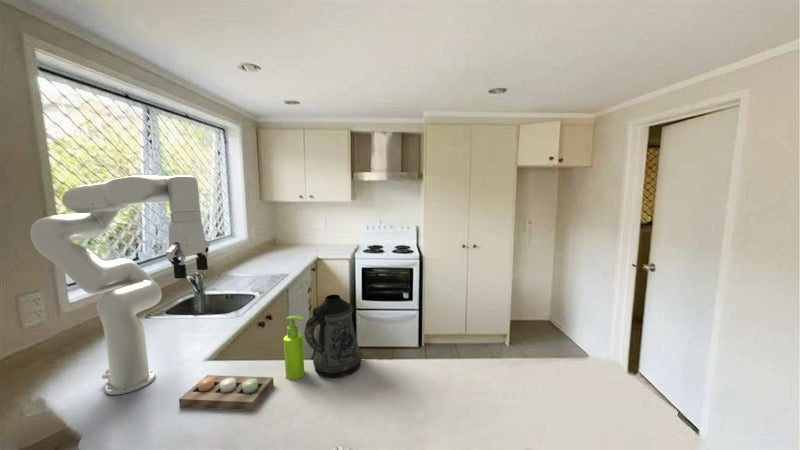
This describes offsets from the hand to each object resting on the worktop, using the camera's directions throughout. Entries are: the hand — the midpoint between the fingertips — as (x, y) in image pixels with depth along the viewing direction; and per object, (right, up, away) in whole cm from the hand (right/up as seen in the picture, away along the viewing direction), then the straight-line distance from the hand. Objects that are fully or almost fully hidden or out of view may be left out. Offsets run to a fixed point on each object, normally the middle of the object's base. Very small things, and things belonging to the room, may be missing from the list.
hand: (192, 273), depth 99 cm
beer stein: (+41, -35, +13) cm, 55 cm away
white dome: (+12, -35, -1) cm, 37 cm away
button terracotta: (+5, -35, 0) cm, 35 cm away
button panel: (+12, -36, -1) cm, 38 cm away
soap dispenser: (+29, -35, +9) cm, 46 cm away
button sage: (+19, -35, -2) cm, 39 cm away
